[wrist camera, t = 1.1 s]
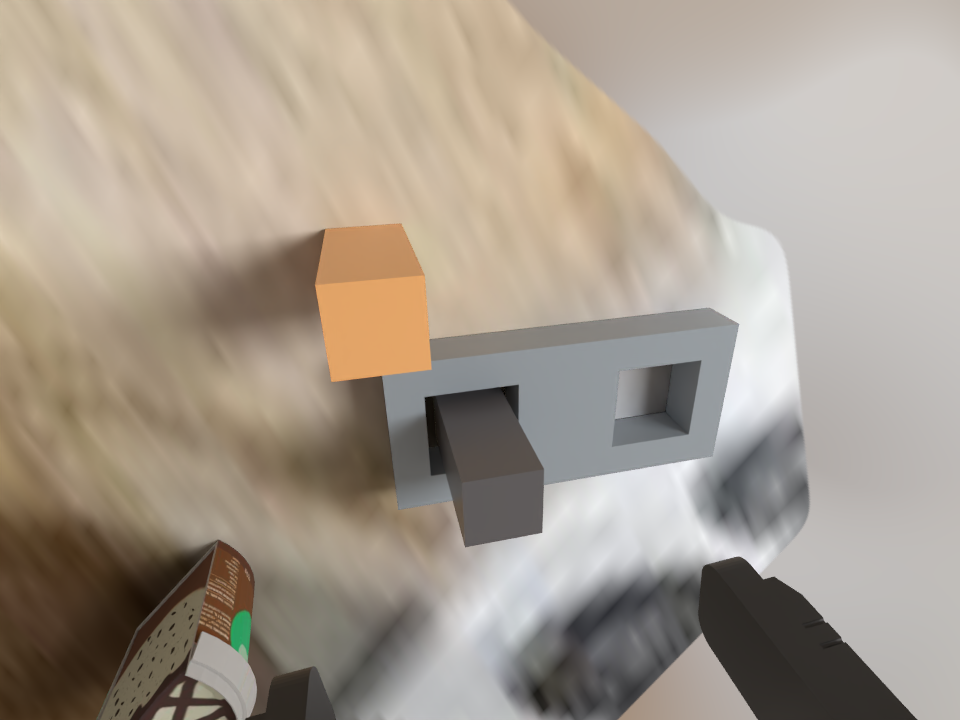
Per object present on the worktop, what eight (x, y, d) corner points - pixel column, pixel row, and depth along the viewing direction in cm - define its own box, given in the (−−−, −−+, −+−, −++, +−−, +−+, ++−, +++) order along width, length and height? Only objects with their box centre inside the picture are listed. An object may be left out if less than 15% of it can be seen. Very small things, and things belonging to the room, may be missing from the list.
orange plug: (336, 300, 30) (331, 381, 21) (325, 228, 28) (315, 284, 19) (407, 293, 31) (431, 369, 22) (401, 223, 29) (424, 275, 20)
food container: (206, 668, 39) (165, 831, 31) (124, 641, 37) (53, 811, 28) (311, 562, 37) (299, 703, 28) (231, 524, 35) (192, 667, 26)
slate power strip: (394, 480, 36) (409, 601, 27) (378, 345, 31) (389, 438, 23) (688, 433, 40) (784, 525, 31) (710, 307, 36) (829, 374, 27)
